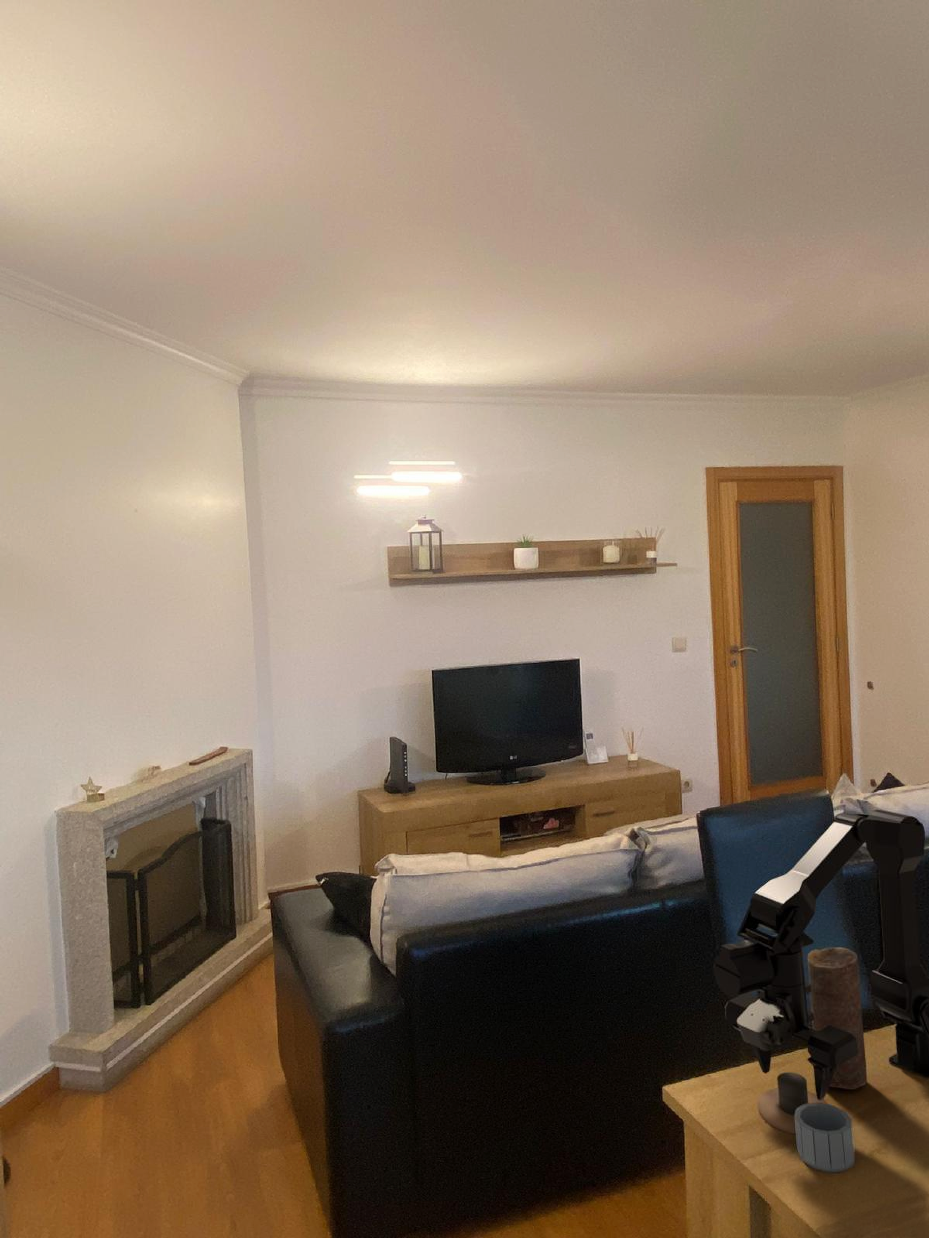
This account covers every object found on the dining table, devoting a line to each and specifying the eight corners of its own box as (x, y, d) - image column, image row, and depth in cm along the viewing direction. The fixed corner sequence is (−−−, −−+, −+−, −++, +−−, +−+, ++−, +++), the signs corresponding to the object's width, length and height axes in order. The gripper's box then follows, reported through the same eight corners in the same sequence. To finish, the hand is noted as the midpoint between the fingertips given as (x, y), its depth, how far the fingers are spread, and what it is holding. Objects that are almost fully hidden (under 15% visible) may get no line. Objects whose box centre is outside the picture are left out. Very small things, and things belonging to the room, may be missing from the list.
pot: (818, 1132, 118) (815, 1096, 118) (865, 1156, 112) (862, 1119, 112) (786, 1152, 114) (783, 1116, 114) (833, 1179, 108) (830, 1140, 108)
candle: (874, 1098, 125) (862, 963, 125) (821, 1096, 126) (810, 963, 126) (860, 1070, 132) (850, 943, 132) (811, 1069, 134) (800, 943, 134)
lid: (786, 1085, 130) (783, 1053, 130) (846, 1115, 121) (843, 1081, 121) (744, 1111, 124) (741, 1078, 124) (803, 1144, 116) (801, 1109, 116)
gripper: (696, 975, 126) (705, 1078, 126) (805, 1019, 111) (815, 1137, 111) (745, 953, 132) (753, 1052, 132) (855, 993, 117) (865, 1105, 117)
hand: (792, 1085), depth 123 cm, fingers open, 9 cm apart
